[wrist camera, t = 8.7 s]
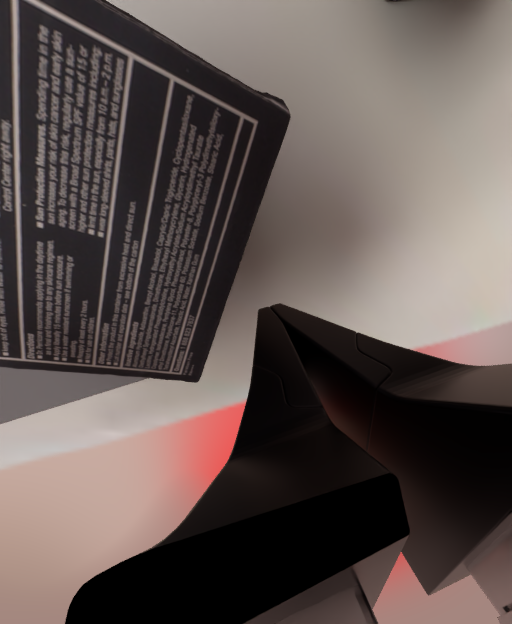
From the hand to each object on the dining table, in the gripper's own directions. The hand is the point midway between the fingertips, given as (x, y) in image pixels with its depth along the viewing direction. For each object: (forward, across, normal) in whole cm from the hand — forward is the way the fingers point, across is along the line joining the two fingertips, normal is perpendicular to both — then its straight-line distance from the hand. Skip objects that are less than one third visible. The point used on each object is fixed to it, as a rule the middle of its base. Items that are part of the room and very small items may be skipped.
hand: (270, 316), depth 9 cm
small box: (+4, +1, -1) cm, 4 cm away
